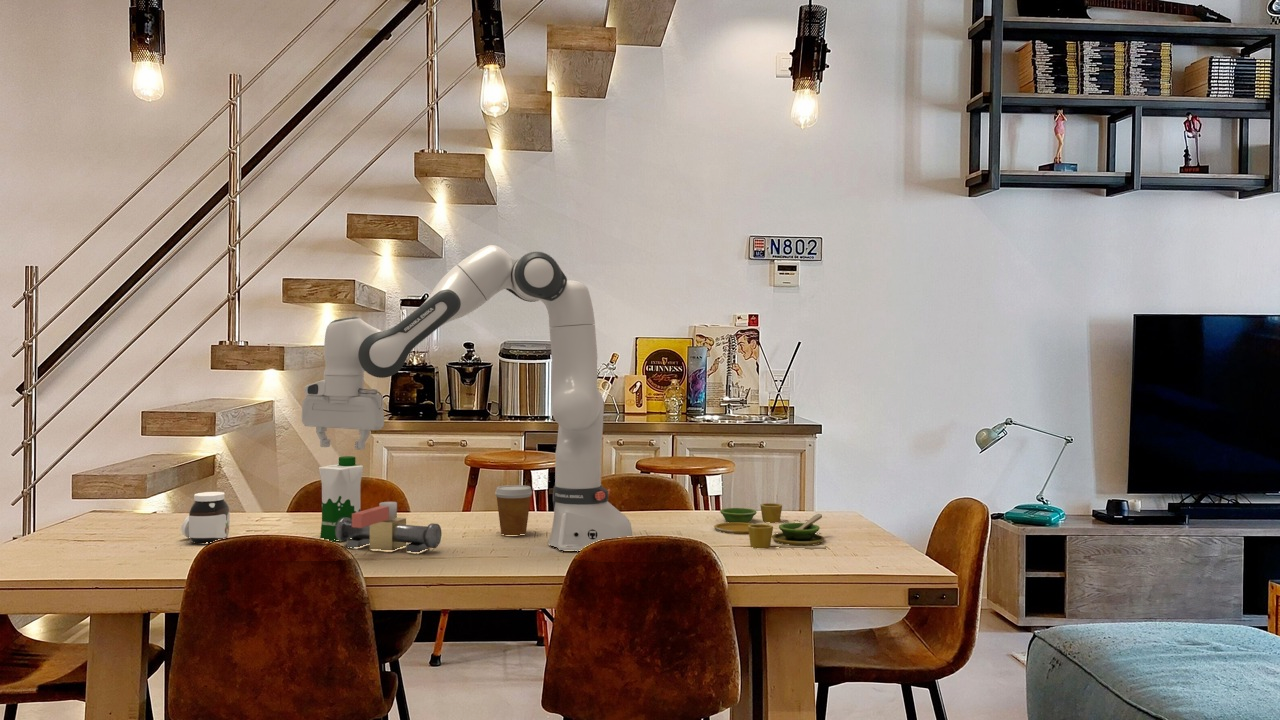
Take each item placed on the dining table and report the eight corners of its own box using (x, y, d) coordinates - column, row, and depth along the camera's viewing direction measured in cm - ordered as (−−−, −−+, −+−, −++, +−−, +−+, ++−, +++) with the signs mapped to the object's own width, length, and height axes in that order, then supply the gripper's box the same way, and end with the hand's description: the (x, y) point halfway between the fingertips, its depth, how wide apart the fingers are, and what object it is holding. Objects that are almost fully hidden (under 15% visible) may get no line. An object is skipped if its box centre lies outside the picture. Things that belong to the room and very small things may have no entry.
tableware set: (829, 553, 225) (830, 526, 225) (711, 550, 228) (712, 524, 228) (815, 521, 266) (815, 499, 266) (715, 519, 269) (715, 497, 269)
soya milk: (367, 537, 239) (367, 457, 239) (340, 543, 231) (340, 461, 231) (341, 533, 243) (341, 455, 243) (313, 540, 235) (313, 458, 235)
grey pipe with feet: (441, 550, 224) (442, 520, 223) (428, 555, 218) (428, 525, 218) (349, 543, 231) (349, 514, 231) (334, 548, 226) (334, 518, 226)
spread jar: (216, 545, 228) (216, 497, 228) (168, 545, 228) (168, 496, 228) (237, 535, 240) (237, 489, 240) (192, 535, 240) (191, 489, 240)
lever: (385, 516, 227) (385, 501, 227) (400, 517, 226) (400, 502, 226) (348, 526, 213) (348, 511, 213) (364, 528, 212) (364, 512, 212)
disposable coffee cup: (535, 531, 247) (535, 485, 247) (527, 538, 238) (528, 490, 238) (499, 530, 248) (499, 484, 248) (490, 537, 239) (490, 489, 239)
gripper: (390, 389, 219) (389, 449, 219) (315, 385, 225) (314, 444, 226) (374, 390, 213) (373, 452, 213) (298, 386, 219) (296, 446, 220)
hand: (342, 448), depth 219 cm, fingers open, 8 cm apart
